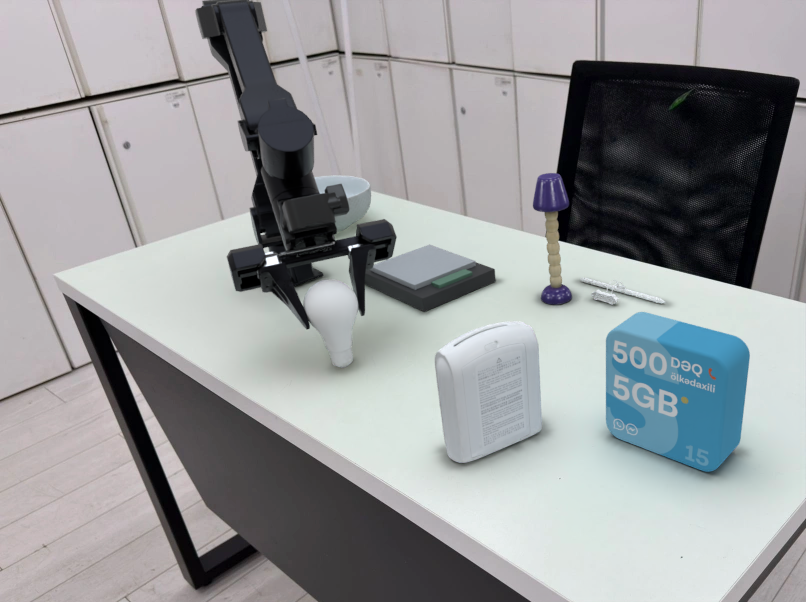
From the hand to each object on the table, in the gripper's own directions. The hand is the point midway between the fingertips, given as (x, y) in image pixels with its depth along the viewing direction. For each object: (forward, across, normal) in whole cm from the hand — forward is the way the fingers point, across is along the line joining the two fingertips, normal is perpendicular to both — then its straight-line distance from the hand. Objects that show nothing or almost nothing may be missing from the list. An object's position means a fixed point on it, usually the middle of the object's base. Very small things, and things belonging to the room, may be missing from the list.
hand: (335, 321), depth 84 cm
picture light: (+4, +37, +5) cm, 38 cm away
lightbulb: (+4, 0, +6) cm, 7 cm away
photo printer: (+20, +10, -11) cm, 25 cm away
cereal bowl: (-34, +10, +43) cm, 56 cm away
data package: (+26, +24, -17) cm, 40 cm away
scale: (-9, +17, +18) cm, 27 cm away
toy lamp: (+1, +30, +8) cm, 32 cm away
